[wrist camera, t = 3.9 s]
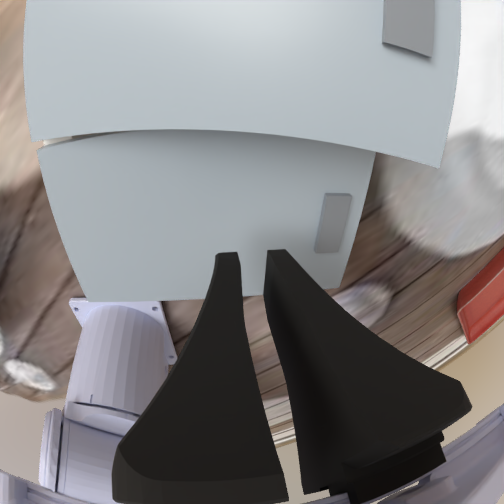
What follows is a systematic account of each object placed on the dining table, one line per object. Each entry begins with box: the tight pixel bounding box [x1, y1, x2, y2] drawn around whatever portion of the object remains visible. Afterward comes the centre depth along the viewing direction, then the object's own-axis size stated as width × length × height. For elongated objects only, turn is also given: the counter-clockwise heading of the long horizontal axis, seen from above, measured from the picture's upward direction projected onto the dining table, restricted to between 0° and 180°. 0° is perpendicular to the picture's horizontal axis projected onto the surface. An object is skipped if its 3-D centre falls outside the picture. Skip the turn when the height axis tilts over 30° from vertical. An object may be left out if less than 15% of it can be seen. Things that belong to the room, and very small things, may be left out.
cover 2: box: [37, 129, 376, 302], centre depth 12 cm, size 9×14×1 cm, turn 88°
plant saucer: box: [457, 247, 504, 344], centre depth 27 cm, size 18×18×3 cm
